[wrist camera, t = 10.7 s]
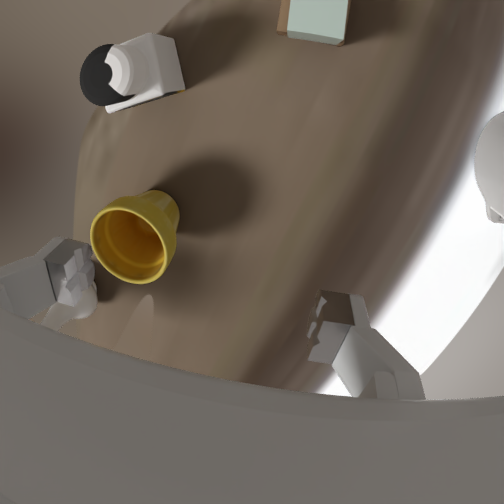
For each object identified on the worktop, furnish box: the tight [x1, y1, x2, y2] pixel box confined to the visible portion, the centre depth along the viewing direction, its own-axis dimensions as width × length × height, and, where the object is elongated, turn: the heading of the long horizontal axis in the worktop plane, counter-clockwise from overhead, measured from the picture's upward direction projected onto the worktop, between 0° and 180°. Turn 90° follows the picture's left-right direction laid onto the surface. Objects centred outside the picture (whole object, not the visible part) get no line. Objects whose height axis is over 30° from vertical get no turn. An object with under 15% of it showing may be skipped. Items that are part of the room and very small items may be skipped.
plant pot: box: [90, 190, 180, 284], centre depth 38 cm, size 10×10×10 cm
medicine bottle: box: [80, 33, 185, 113], centre depth 28 cm, size 7×7×12 cm
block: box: [277, 0, 351, 47], centre depth 26 cm, size 7×7×3 cm
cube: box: [287, 0, 348, 45], centre depth 23 cm, size 5×5×5 cm
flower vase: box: [40, 280, 98, 331], centre depth 41 cm, size 13×18×25 cm
